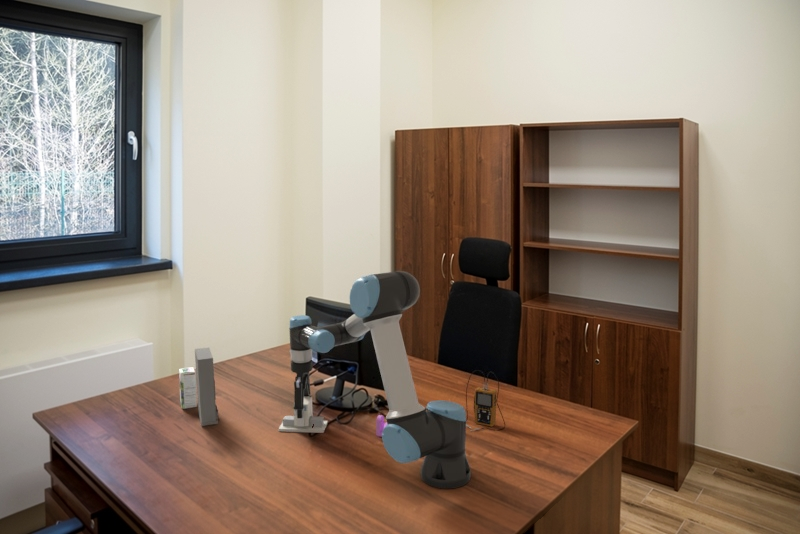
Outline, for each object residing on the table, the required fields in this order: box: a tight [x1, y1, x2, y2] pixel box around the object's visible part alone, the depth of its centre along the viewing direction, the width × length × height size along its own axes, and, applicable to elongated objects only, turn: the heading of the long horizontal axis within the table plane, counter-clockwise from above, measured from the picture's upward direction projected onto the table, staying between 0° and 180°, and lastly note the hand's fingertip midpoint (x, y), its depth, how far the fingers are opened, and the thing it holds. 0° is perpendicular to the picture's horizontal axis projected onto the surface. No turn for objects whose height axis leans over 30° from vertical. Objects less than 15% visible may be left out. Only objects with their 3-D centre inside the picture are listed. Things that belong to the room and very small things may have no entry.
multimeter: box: [465, 369, 506, 432], centre depth 231 cm, size 15×10×20 cm
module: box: [293, 396, 314, 426], centre depth 232 cm, size 5×8×8 cm, turn 176°
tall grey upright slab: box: [194, 347, 219, 427], centre depth 239 cm, size 14×6×25 cm, turn 22°
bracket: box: [375, 414, 388, 438], centre depth 230 cm, size 13×6×7 cm, turn 161°
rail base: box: [277, 415, 328, 434], centre depth 233 cm, size 16×8×4 cm, turn 86°
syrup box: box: [178, 367, 198, 410], centre depth 252 cm, size 6×6×14 cm
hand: (303, 420), depth 232 cm, fingers closed on module, 8 cm apart
